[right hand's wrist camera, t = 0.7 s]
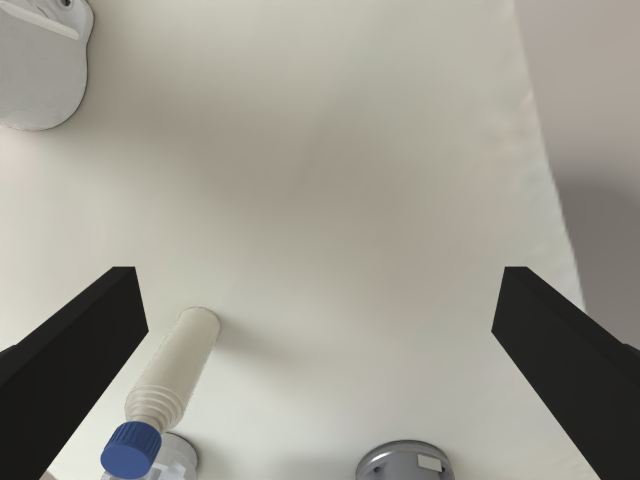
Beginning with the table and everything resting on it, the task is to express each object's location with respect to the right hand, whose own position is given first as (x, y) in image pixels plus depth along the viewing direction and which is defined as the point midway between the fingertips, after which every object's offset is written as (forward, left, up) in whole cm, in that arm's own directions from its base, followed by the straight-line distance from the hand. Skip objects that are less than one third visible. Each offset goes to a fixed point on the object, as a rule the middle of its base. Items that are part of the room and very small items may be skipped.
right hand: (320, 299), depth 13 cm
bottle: (-21, +16, -28) cm, 38 cm away
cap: (-21, +16, -9) cm, 28 cm away
